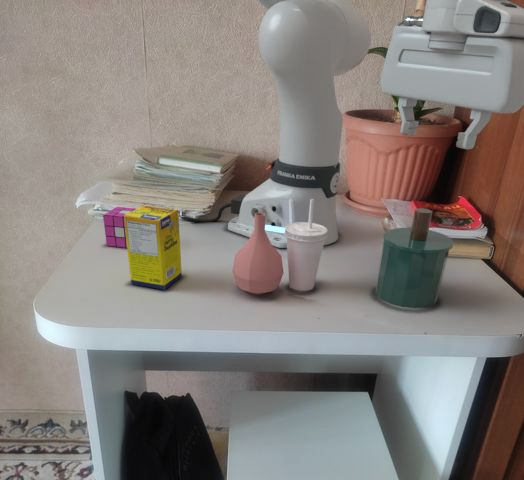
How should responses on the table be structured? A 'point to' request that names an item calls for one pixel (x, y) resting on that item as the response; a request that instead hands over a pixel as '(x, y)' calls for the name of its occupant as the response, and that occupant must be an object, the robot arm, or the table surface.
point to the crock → (410, 277)
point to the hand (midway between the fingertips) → (434, 141)
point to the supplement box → (153, 246)
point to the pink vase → (258, 262)
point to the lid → (419, 236)
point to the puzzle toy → (116, 226)
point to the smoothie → (304, 251)
